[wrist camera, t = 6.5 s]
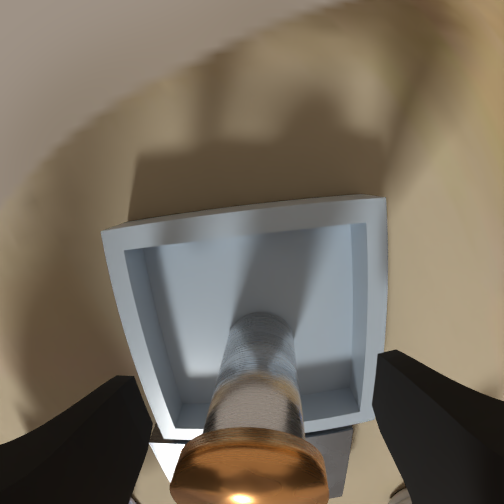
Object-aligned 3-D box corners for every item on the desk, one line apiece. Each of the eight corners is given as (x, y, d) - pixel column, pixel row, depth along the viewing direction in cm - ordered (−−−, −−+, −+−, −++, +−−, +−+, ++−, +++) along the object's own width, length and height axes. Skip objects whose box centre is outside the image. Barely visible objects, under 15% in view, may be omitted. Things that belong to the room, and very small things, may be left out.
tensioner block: (189, 480, 16) (184, 505, 14) (159, 413, 15) (148, 442, 12) (335, 469, 16) (341, 496, 14) (342, 399, 14) (353, 429, 12)
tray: (174, 407, 15) (163, 438, 12) (126, 221, 12) (100, 231, 10) (360, 389, 14) (374, 419, 12) (361, 193, 12) (385, 197, 10)
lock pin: (225, 375, 13) (191, 526, 6) (212, 306, 13) (148, 455, 5) (304, 370, 13) (324, 525, 5) (300, 298, 12) (334, 454, 5)
